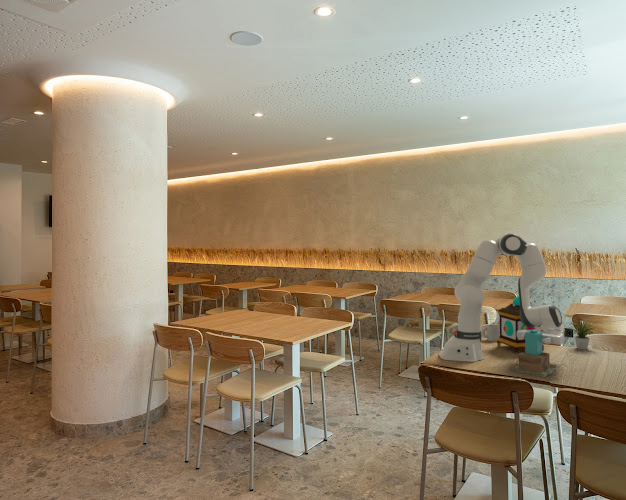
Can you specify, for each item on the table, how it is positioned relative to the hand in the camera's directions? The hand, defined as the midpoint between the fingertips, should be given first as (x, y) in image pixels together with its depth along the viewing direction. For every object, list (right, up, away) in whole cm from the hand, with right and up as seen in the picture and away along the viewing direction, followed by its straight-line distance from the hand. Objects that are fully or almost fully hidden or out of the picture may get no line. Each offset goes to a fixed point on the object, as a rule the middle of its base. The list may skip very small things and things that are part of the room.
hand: (532, 339), depth 209 cm
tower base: (+1, -15, +1) cm, 15 cm away
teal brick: (+1, -7, +1) cm, 7 cm away
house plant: (+46, -13, +39) cm, 62 cm away
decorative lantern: (+13, -14, +42) cm, 46 cm away
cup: (+5, -13, +63) cm, 65 cm away
